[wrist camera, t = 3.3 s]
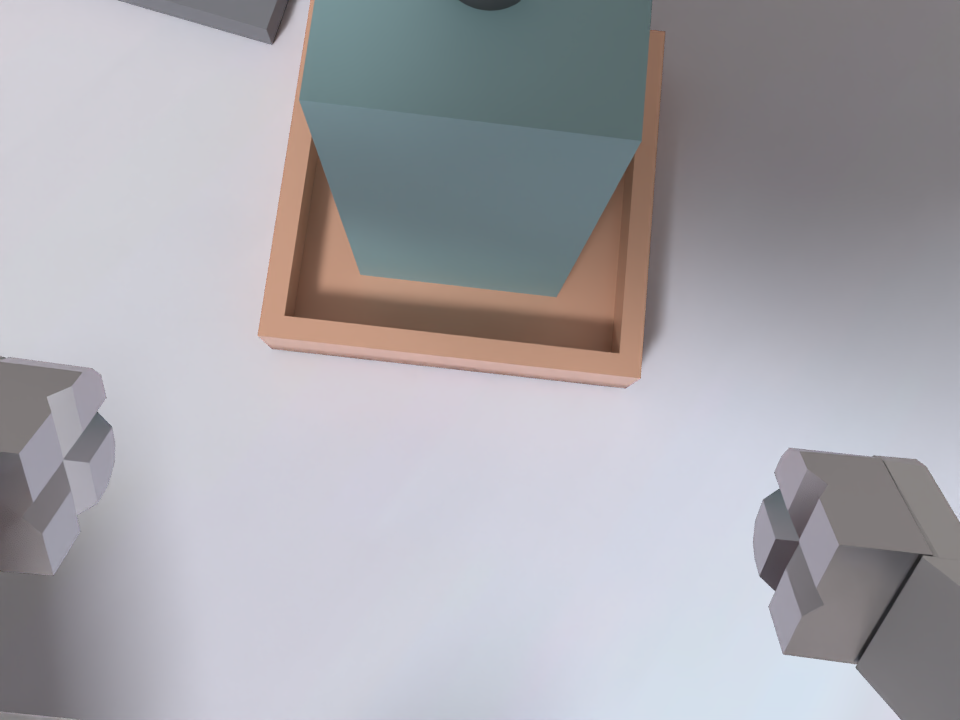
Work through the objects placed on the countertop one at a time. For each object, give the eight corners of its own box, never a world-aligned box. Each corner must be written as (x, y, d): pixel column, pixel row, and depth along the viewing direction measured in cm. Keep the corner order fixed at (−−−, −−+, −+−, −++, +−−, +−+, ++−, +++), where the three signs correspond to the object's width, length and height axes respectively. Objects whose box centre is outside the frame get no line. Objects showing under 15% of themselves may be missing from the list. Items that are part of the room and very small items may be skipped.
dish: (271, 348, 23) (248, 327, 20) (321, 25, 25) (306, -36, 22) (625, 388, 23) (650, 372, 21) (649, 65, 25) (675, 10, 22)
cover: (360, 274, 23) (284, 59, 12) (385, 93, 24) (336, -263, 13) (556, 297, 23) (660, 104, 12) (573, 115, 24) (683, -217, 13)
